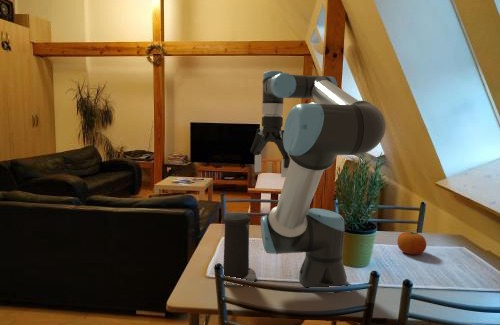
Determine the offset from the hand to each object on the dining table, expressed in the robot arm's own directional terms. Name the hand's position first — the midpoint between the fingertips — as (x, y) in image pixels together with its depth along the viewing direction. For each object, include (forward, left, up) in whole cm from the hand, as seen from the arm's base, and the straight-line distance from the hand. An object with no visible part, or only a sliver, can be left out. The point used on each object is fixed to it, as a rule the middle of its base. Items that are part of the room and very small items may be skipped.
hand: (270, 174), depth 127 cm
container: (-5, +20, -31) cm, 37 cm away
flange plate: (-5, +20, -32) cm, 38 cm away
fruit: (-33, -48, -32) cm, 66 cm away
